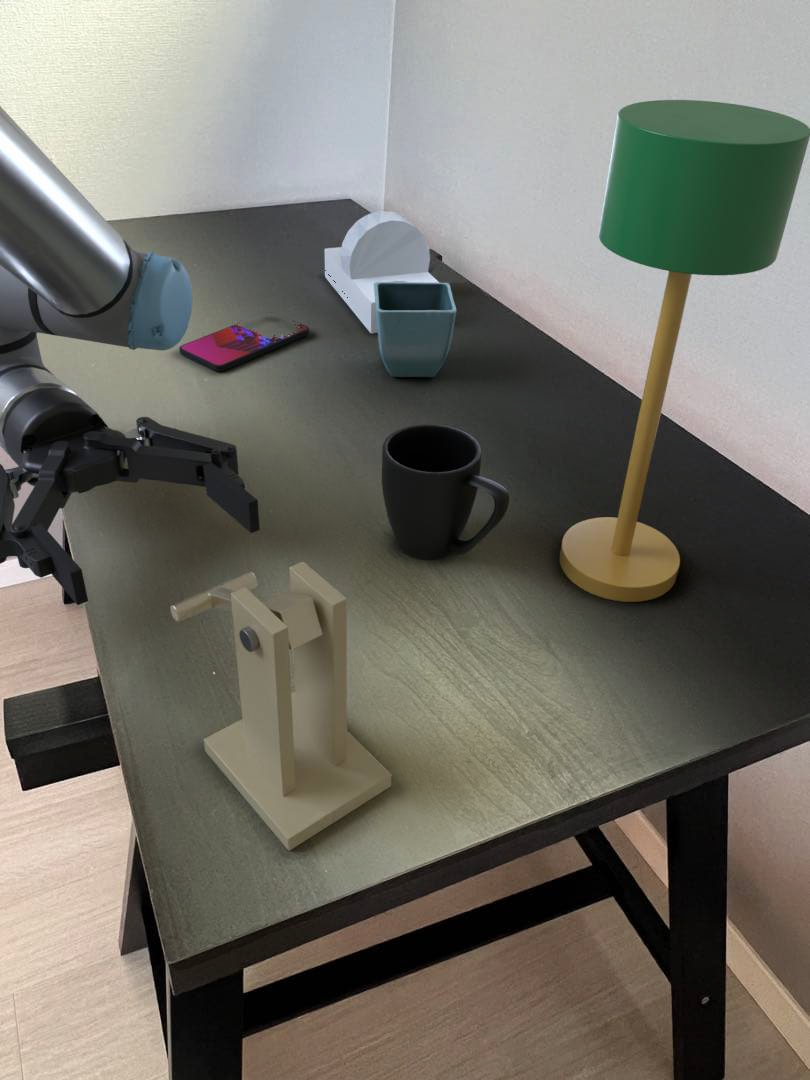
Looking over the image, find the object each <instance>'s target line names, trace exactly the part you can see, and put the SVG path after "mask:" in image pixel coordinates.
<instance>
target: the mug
mask: <svg viewBox="0 0 810 1080" xmlns="http://www.w3.org/2000/svg"><path fill="white" fill-rule="evenodd" d="M381 454H382V455H381V489H382V496H383V497H382V498H383V502H384V508H385V511H386V516H387V518H388V522H389V524H390V528H391V531H392V535H393V538H394V539H393V540H394V542H395V545H396V547H398V549H399V550H400V551H401V552H402V553H403V554H405V555H408V556H409V557H411V558H415V559H421V560H438V559H441V558H445V557H447V556H449V555H450V554H452V555H455V556H461V555H464V554H466V553H469V552H470V551H471V550H472V549H473V548H475V547H476V546H477V545H479V543H480V542H481V541H482V540H484V538H485V537H487V535H489V533H491V532H492V531H493V529H495V528H496V527H497V526H498V524H499V523H501V521H502V520H503V519H504V517H505V515H506V513H507V511H508V508H509V504H510V494H509V491H508V490H507V488H505V486H503V485H502V484H499V483H498V482H497V481H494V480H492V479H489V478H486V477H484V476H480V475H481V474H480V473H481V465H482V448H481V445H480V444H479V442H478V440H477V439H476V438H475V437H473V436H472V435H471V434H469V433H468V432H465V431H463V430H460V429H458V428H455V427H452V426H448V425H442V424H433V423H432V424H430V423H423V424H413V425H409V426H404V427H402V428H398V429H397V430H395V431H393V432H392V433H390V434H389V435H388V436H386V438H385V440H384V442H383V443H382V447H381ZM478 489H480V490H482V491H485V492H486V493H487V494H489V495H490V496H491V497H492V499H493V501H494V506H493V507H494V508H493V512H492V513H491V515H490V518H489V519H488V520H487V522H486V523H484V525H483V526H482V527H481V528H480V530H479V531H478V532H477V533H476V534H475V535H473V536H472V537H470V538H468V539H462V538H461V536H462V534H463V532H464V530H465V528H466V526H467V524H468V521H469V519H470V516H471V513H472V510H473V507H474V504H475V501H476V497H477V493H478Z"/></svg>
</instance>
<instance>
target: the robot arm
mask: <svg viewBox="0 0 810 1080" xmlns="http://www.w3.org/2000/svg"><path fill="white" fill-rule="evenodd" d="M192 310H193V288H192V283H191V279H190V276H189V273H188V271H187V269H186V268H185V266H184V265H183V263H181V262H180V260H178V259H175V258H174V257H170V256H165V255H159V254H156V252H154V251H148V252H140V251H137V250H135V249H133V248H132V246H130V244H129V243H128V242H127V241H126V240H125V239H124V238H122V236H121V234H119V233H118V231H117V230H116V229H115V228H114V227H113V226H112V225H111V224H110V223H109V222H108V221H107V220H106V219H105V217H104V216H103V215H102V214H101V213H100V212H99V211H98V210H97V209H96V208H95V207H94V206H93V204H91V202H90V201H89V200H88V199H87V198H86V197H85V196H84V195H83V194H82V193H81V192H80V190H79V189H78V188H77V187H76V186H75V185H74V184H73V182H71V181H70V179H69V178H68V177H67V176H66V175H65V174H64V173H63V172H62V171H61V170H60V169H59V168H58V167H57V165H56V164H55V163H54V162H53V161H52V160H51V159H50V158H49V157H48V156H47V155H46V153H44V151H43V150H42V149H41V148H40V147H39V146H38V145H37V144H36V142H34V140H33V139H32V138H31V137H30V136H29V135H28V134H27V133H26V132H25V131H24V130H23V128H21V126H20V125H19V124H18V123H17V122H16V121H15V120H14V119H13V118H12V117H11V116H10V114H9V113H8V112H7V111H6V110H5V109H4V107H2V105H0V448H1V449H2V450H3V451H4V452H5V453H6V454H7V455H8V456H9V458H11V459H12V461H13V462H14V463H15V464H16V465H17V466H16V467H12V468H7V469H5V468H4V466H3V465H2V464H1V463H0V565H1V564H3V563H4V562H6V561H7V559H8V558H9V557H17V558H16V559H17V562H18V564H19V567H20V568H22V569H29V570H30V571H31V572H32V573H33V575H34V576H36V577H38V578H41V579H42V578H45V577H47V576H52V577H53V578H54V579H55V580H56V581H57V583H58V584H59V585H60V586H61V588H62V589H63V591H65V592H66V593H67V595H68V596H69V597H70V598H71V600H72V601H73V602H74V603H75V605H77V606H80V605H82V604H84V603H87V602H89V597H88V594H87V593H88V592H87V588H86V583H85V578H84V575H83V570H82V568H81V567H80V565H79V564H77V563H76V561H75V560H74V559H73V558H72V556H70V554H69V553H68V552H67V551H66V550H65V548H63V547H62V545H60V543H59V542H58V541H57V540H56V539H55V537H54V536H53V535H52V534H51V532H49V529H50V527H51V526H52V523H53V522H54V520H55V518H56V516H57V514H58V512H59V510H60V509H64V508H65V506H66V504H67V503H68V501H69V499H70V496H71V495H72V494H74V493H77V494H78V495H80V494H83V493H86V492H89V491H91V490H92V489H94V488H97V487H99V486H105V485H108V484H109V485H110V484H112V483H114V482H122V483H123V482H124V483H132V484H136V483H138V482H139V481H140V480H148V481H156V482H163V483H164V482H165V483H170V484H179V485H187V486H196V487H202V488H205V495H206V496H207V497H208V498H210V500H212V501H213V502H214V503H215V504H216V505H217V506H219V507H220V508H221V509H222V510H223V511H224V512H226V513H227V514H228V515H229V516H230V517H232V519H234V521H236V522H237V523H239V524H240V525H241V526H242V527H243V528H244V529H245V530H246V531H247V532H249V534H253V533H256V532H258V531H260V530H261V529H260V528H261V527H260V513H259V500H258V498H256V497H255V496H254V495H252V494H251V493H250V492H248V490H246V483H245V481H244V479H243V478H242V477H241V476H240V475H239V462H238V461H239V460H238V449H237V445H235V444H232V443H230V442H225V441H222V440H217V439H215V438H210V437H207V436H203V435H199V434H196V433H192V432H188V431H185V430H181V429H177V428H174V427H170V426H166V425H162V424H160V423H159V422H157V421H156V420H154V419H152V418H150V417H148V416H141V417H138V418H137V419H136V420H135V421H136V428H134V429H131V430H129V431H126V432H124V433H123V432H122V431H120V430H116V429H114V428H113V429H112V428H110V427H109V426H108V424H107V423H106V422H105V420H104V419H103V418H102V417H101V416H100V414H99V413H98V412H97V411H96V410H95V409H93V408H92V407H91V406H90V405H89V404H88V403H87V402H85V400H84V399H82V398H81V397H80V396H79V395H78V394H77V393H76V392H75V391H74V390H72V389H71V388H70V387H69V386H67V384H65V383H64V382H63V381H62V380H61V379H59V378H58V377H57V376H56V375H54V373H53V372H51V371H50V370H49V369H48V368H47V367H46V366H45V365H44V362H43V360H42V355H41V354H42V353H41V350H40V345H39V340H38V335H37V334H44V335H50V336H55V337H56V336H57V337H63V338H70V339H76V340H81V341H88V342H93V343H99V344H105V345H111V346H118V347H124V348H128V349H129V350H133V351H135V350H137V349H142V350H143V349H144V350H151V351H152V350H153V351H167V350H170V349H173V348H175V347H176V346H177V345H178V344H179V343H180V342H181V341H182V339H183V338H184V336H185V334H186V333H187V330H188V328H189V323H190V320H191V315H192ZM125 463H127V468H126V467H125ZM25 483H27V484H28V485H30V486H32V487H33V488H32V490H31V492H30V493H29V495H28V497H27V498H26V500H25V502H24V503H23V505H22V507H21V509H20V510H19V512H18V514H17V515H16V517H15V518H14V515H15V509H16V504H15V499H18V498H19V497H20V495H19V492H20V491H21V489H22V486H23V484H25Z"/></svg>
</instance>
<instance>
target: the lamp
mask: <svg viewBox="0 0 810 1080" xmlns="http://www.w3.org/2000/svg"><path fill="white" fill-rule="evenodd" d="M614 129H615V130H614V135H613V142H612V147H611V154H610V155H611V156H610V160H609V166H608V171H607V172H608V174H607V180H606V185H605V192H604V198H603V205H602V211H601V217H600V222H599V223H600V224H599V229H598V238H599V242H600V243H601V244H602V246H603V247H605V248H606V249H607V250H609V251H610V252H612V253H613V254H614V255H616V256H619V257H621V258H623V259H625V260H628V261H630V262H633V263H636V264H639V265H643V266H645V267H650V268H652V269H657V270H661V271H665V272H666V271H667V276H666V277H667V278H666V280H665V281H666V282H665V287H664V292H663V297H662V300H661V306H660V311H659V315H658V321H657V325H656V329H655V335H654V340H653V345H652V349H651V353H650V354H651V355H650V359H649V364H648V369H647V373H646V377H645V384H644V388H643V392H642V398H641V402H640V407H639V412H638V417H637V422H636V426H635V427H636V428H635V431H634V436H633V441H632V447H631V451H630V456H629V461H628V465H627V471H626V475H625V480H624V485H623V490H622V494H621V499H620V504H619V509H618V514H617V517H610V516H605V517H602V516H601V517H593V518H589V519H585V520H582V521H579V522H577V523H575V524H574V525H572V526H571V527H570V528H569V529H568V530H567V531H566V532H565V533H564V535H563V537H562V540H561V544H560V545H561V546H560V549H559V550H560V552H559V564H560V567H561V570H562V571H563V573H564V574H565V576H566V577H567V578H568V579H569V581H571V582H572V583H573V584H574V585H576V586H577V587H579V588H580V589H581V590H583V591H585V592H588V593H589V594H590V595H591V594H592V595H594V596H597V597H599V598H602V599H606V600H611V601H614V602H623V603H639V602H646V601H651V600H655V599H657V598H660V597H661V596H663V595H665V594H666V593H667V592H669V591H670V590H671V589H672V588H673V586H674V585H675V583H676V581H677V577H678V574H679V570H680V567H681V557H680V553H679V550H678V548H677V547H676V545H675V544H674V543H673V542H672V541H671V540H670V538H669V537H667V536H666V535H665V534H664V533H662V532H661V531H659V530H658V529H656V528H654V527H652V526H650V525H648V524H645V523H642V522H639V521H638V518H639V513H640V511H641V505H642V500H643V497H644V496H643V495H644V493H645V492H644V491H645V487H646V482H647V479H648V478H647V477H648V473H649V469H650V464H651V459H652V456H653V452H654V451H653V450H654V447H655V442H656V438H657V434H658V433H657V432H658V428H659V423H660V420H661V416H662V411H663V405H664V403H665V397H666V392H667V387H668V384H669V380H670V379H669V378H670V374H671V370H672V366H673V361H674V356H675V351H676V347H677V343H678V338H679V334H680V330H681V324H682V320H683V315H684V310H685V306H686V302H687V297H688V293H689V288H690V284H691V280H692V275H695V276H696V275H697V276H736V275H745V274H750V273H755V272H759V271H762V270H764V269H767V268H768V267H770V266H772V265H773V264H774V263H775V262H776V260H777V258H778V254H779V251H780V248H781V244H782V240H783V236H784V233H785V229H786V226H787V222H788V217H789V215H790V211H791V208H792V204H793V200H794V196H795V192H796V189H797V185H798V181H799V178H800V174H801V171H802V167H803V165H804V164H803V163H804V160H805V157H806V152H807V149H808V145H809V141H810V127H809V126H808V125H807V124H806V123H804V122H802V121H801V120H798V119H796V118H794V117H792V116H789V115H786V114H783V113H780V112H776V111H773V110H769V109H764V108H760V107H754V106H748V105H742V104H737V103H730V102H729V103H728V102H721V101H712V100H710V101H709V100H696V99H695V100H694V99H658V100H657V99H656V100H646V101H640V102H634V103H631V104H630V103H629V104H628V105H625V106H622V107H621V108H620V109H618V112H617V116H616V121H615V128H614Z"/></svg>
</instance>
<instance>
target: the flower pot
mask: <svg viewBox="0 0 810 1080" xmlns="http://www.w3.org/2000/svg"><path fill="white" fill-rule="evenodd" d="M374 293H375V304H376V318H377V330H378V333H377V341H378V348H379V354H380V357H381V360H382V363H383V365H384V367H385V369H386V371H387V372H388V374H389V375H390V376H391V377H393V378H433V377H435V376H436V375H437V374H438V372H439V371H440V370H441V369H442V367H443V366H444V364H445V362H446V360H447V357H448V355H449V351H450V348H451V345H452V339H453V333H454V328H455V322H456V315H457V307H456V303H455V301H454V296H453V292H452V289H451V285H450V283H449V282H439V283H433V282H426V283H425V282H376V283H374Z"/></svg>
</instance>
